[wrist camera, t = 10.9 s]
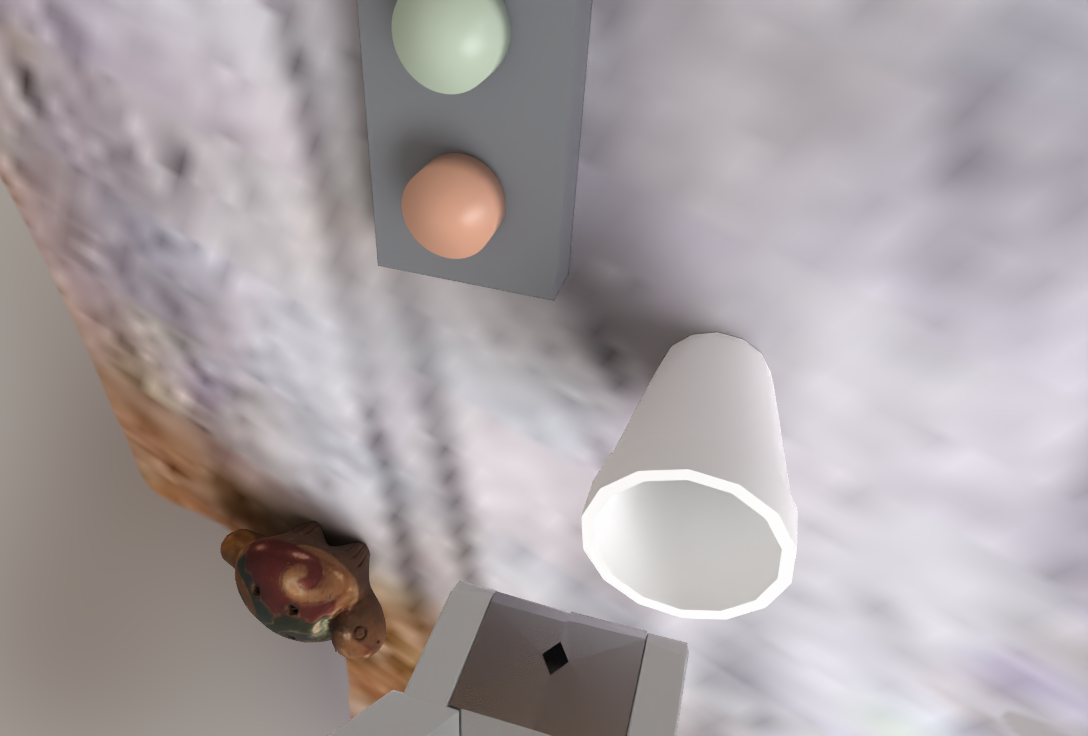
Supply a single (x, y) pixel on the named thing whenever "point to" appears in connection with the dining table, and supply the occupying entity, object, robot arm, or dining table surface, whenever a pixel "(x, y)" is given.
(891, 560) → the dining table surface
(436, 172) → the orange rounded lump
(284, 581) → the decorative turtle
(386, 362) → the dining table surface
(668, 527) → the foam cup
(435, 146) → the console
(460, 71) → the sage button
